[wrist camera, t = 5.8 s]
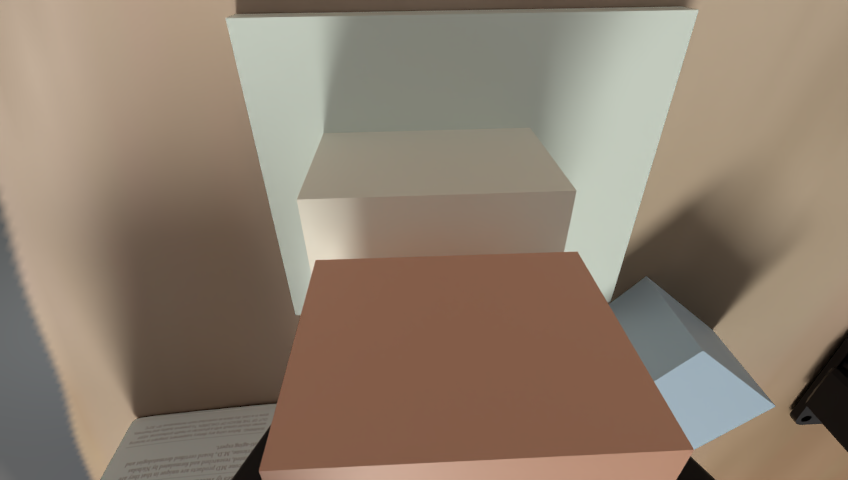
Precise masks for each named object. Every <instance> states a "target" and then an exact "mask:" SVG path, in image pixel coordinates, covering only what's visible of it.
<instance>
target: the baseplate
mask: <svg viewBox="0 0 848 480" xmlns="http://www.w3.org/2000/svg"><path fill="white" fill-rule="evenodd" d="M698 11H699V10H697V9H692V8H687V7H682V6H677V7H619V8H560V9H502V10H443V11H385V12H326V13H268V14H234V15H232V16H229V17H227V18H226V22H227V27H228V31H229V35H230V39H231V43H232V48H233V52H234V56H235V60H236V65H237V69H238V73H239V77H240V82H241V86H242V90H243V94H244V99H245V103H246V107H247V111H248V116H249V120H250V124H251V128H252V133H253V137H254V141H255V145H256V149H257V154H258V158H259V162H260V166H261V171H262V175H263V179H264V183H265V188H266V192H267V196H268V200H269V205H270V209H271V213H272V217H273V222H274V226H275V230H276V234H277V239H278V243H279V247H280V251H281V255H282V260H283V264H284V268H285V272H286V277H287V281H288V285H289V289H290V294H291V298H292V302H293V306H294V311H295V315H301V312H302V308H303V305H304V301H305V297H306V294H307V290H308V286H309V282H310V279H311V271H310V266H309V260H308V255H307V250H306V245H305V240H304V235H303V230H302V224H301V219H300V214H299V209H298V204H297V198H298V195H299V193H300V190H301V188H302V185H303V183H304V180H305V178H306V175H307V173H308V170H309V168H310V165H311V163H312V160H313V158H314V155H315V153H316V150H317V148H318V146H319V143H320V141H321V138H322V136H323V133H346V132H383V131H421V130H458V129H495V128H531V129H532V131H533V132H534V133H535V135H536V136H537V137H538V139H539V140H540V142H541V143H542V144H543V146H544V147H545V148H546V150H547V151H548V152H549V154H550V155H551V156H552V158H553V159H554V161H555V162H556V163H557V165H558V166H559V167H560V169H561V170H562V171H563V173H564V174H565V176H566V177H567V178H568V180H569V181H570V182H571V184H572V185H573V186H574V188H575V189H576V190H577V191H576V196H575V201H574V206H573V211H572V216H571V221H570V225H569V230H568V235H567V240H566V245H565V250H564V252H578V253H579V255H580V257H581V258H582V260H583V262H584V263H585V265H586V267H587V269H588V270H589V272H590V274H591V275H592V277H593V279H594V280H595V282H596V284H597V286H598V287H599V289H600V291H601V292H602V294H603V296H604V297H605V299H606V301H607V302H611V299H612V295H613V292H614V289H615V285H616V282H617V279H618V275H619V272H620V269H621V265H622V262H623V259H624V255H625V252H626V249H627V246H628V242H629V239H630V236H631V232H632V229H633V226H634V222H635V219H636V216H637V212H638V209H639V206H640V203H641V199H642V196H643V193H644V189H645V186H646V183H647V179H648V176H649V173H650V169H651V166H652V163H653V160H654V156H655V153H656V150H657V146H658V143H659V140H660V136H661V133H662V130H663V126H664V123H665V120H666V117H667V113H668V110H669V107H670V103H671V100H672V97H673V93H674V90H675V87H676V83H677V80H678V77H679V74H680V70H681V67H682V64H683V60H684V57H685V54H686V50H687V47H688V44H689V40H690V37H691V34H692V31H693V27H694V24H695V21H696V17H697V14H698Z"/></svg>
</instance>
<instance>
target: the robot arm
mask: <svg viewBox="0 0 848 480" xmlns="http://www.w3.org/2000/svg"><path fill="white" fill-rule="evenodd" d="M790 416H791V418H792V419H793V420H794V421H795V422H796V423H797V424H799V425H805V424H823V425H824V426H825V427H826V428H827V429H828V430H829V432H830V433H831V434H832V435H833V436H834V437H835V438H836V439H837V440H838V442H839V443H840V444H841V445H842V446H843V447H844V448H845V449H846V451H847V452H848V337H847V338H846V339H845V341H844V342H843V343H842V345H841V346H840V347H839V349H838V350H837V351H836V353H835V354H834V355H833V357H832V358H831V359H830V361H829V362H828V363H827V365H826V366H825V367H824V369H823V370H822V371H821V373H820V374H819V375H818V377H817V378H816V379H815V381H814V382H813V383H812V385H811V386H810V387H809V389H808V390H807V391H806V393H805V394H804V395H803V397H802V398H801V399H800V401H799V402H798V404H797V405H796V406H795V408H794V409H793V410H792V412H791V413H790ZM270 427H271V425H270V426H269V428H268V429H267V431H266V432H265V433H264V435H263V436H262V438H261V439H260V440H259V442H258V443H257V445H256V446H255V447H254V449H253V450H252V451H251V453H250V454H249V456H248V457H247V458H246V460H245V461H244V463H243V464H242V465H241V467H240V468H239V470H238V471H237V472H236V474H235V475H234V477H233V478H232V479H231V480H262V478H261V476H260V473H259V468H260V464H261V461H262V457H263V453H264V450H265V446H266V442H267V438H268V435H269V431H270ZM676 480H715V479H714V478H713V477H712V476H711V475H710V474H709V473H708V472H707V471H706V470H704V469H703V468H702V467H701V466H700V465H699V464H698V463H697V462H696V461H695V460H694V459H693V458H692V457H691V456H690V458H689V459H688V461H687V463H686V464H685V466H684V468H683V469H682V471H681V473H680V474H679V476H678V478H677V479H676Z"/></svg>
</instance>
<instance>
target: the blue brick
mask: <svg viewBox="0 0 848 480" xmlns="http://www.w3.org/2000/svg"><path fill="white" fill-rule="evenodd" d="M609 306H610V308H611V309H612V311H613V313H614V314H615V316H616V318H617V320H618V321H619V323H620V325H621V326H622V328H623V330H624V331H625V333H626V335H627V337H628V338H629V340H630V342H631V343H632V345H633V347H634V348H635V350H636V352H637V354H638V355H639V357H640V359H641V360H642V362H643V364H644V365H645V367H646V369H647V371H648V372H649V374H650V376H651V377H652V379H653V381H654V382H655V384H656V386H657V388H658V389H659V391H660V393H661V394H662V396H663V398H664V399H665V401H666V403H667V405H668V406H669V408H670V410H671V411H672V413H673V415H674V416H675V418H676V420H677V422H678V423H679V425H680V427H681V428H682V430H683V432H684V433H685V435H686V437H687V439H688V440H689V442H690V444H691V445H692V447H693V449H694V450H695V449H696V448H698V447H700V446H702V445H704V444H706V443H708V442H710V441H712V440H713V439H715V438H717V437H719V436H721V435H723V434H725V433H727V432H728V431H730V430H732V429H734V428H736V427H738V426H740V425H742V424H743V423H745V422H747V421H749V420H751V419H753V418H755V417H757V416H758V415H760V414H762V413H764V412H766V411H768V410H770V409H772V408H773V407H775V405H774V404H773V403H772V401H771V400H770V399H769V398H768V396H767V395H766V394H765V393H764V392H763V390H762V389H761V388H760V387H759V386H758V384H757V383H756V382H755V381H754V380H753V378H752V377H751V376H750V375H749V373H748V372H747V371H746V370H745V369H744V367H743V366H742V365H741V364H740V363H739V361H738V360H737V359H736V358H735V357H734V355H733V354H732V353H731V352H730V351H729V349H728V348H727V347H726V346H725V344H724V343H723V342H722V341H721V340H720V338H719V337H718V336H717V335H716V334H715V332H714V331H713V330H712V329H711V328H710V327H708V326H707V325H706V324H705V323H703V322H702V321H701V320H700V319H699V318H697V317H696V316H695V315H694V314H692V313H691V312H690V311H689V310H687V309H686V308H685V307H684V306H683V305H681V304H680V303H679V302H678V301H676V300H675V299H674V298H673V297H671V296H670V295H669V294H668V293H667V292H665V291H664V290H663V289H662V288H660V287H659V286H658V285H657V284H656V283H654V282H653V281H652V280H651V279H649V278H648V277H647V276H646V277H644V278H643V279H642V280H640V281H639V282H638V283H636V284H635V285H634V286H632V287H631V288H630V289H628V290H627V291H626V292H624V293H623V294H622V295H620V296H619V297H618V298H616V299H615V300H614V301H613V302H611V303H610V304H609Z"/></svg>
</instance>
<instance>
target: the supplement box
mask: <svg viewBox="0 0 848 480" xmlns="http://www.w3.org/2000/svg"><path fill="white" fill-rule="evenodd" d="M276 405H277V404H266V405H254V406H245V407H236V408H224V409H216V410H204V411H195V412H186V413H176V414H168V415H157V416H149V417H143V418H138V419H136V420H134V421H133V422H132V423H131V425H130V427H129V428H128V430H127V432H126V434H125V436H124V438H123V439H122V441H121V443H120V445H119V447H118V449H117V450H116V452H115V454H114V456H113V458H112V459H111V461H110V463H109V465H108V466H107V468H106V470H105V472H104V474H103V475H102V477H101V479H100V480H231V479H232V478H233V477H234V475H235V474H236V472H237V471H238V470H239V468H240V467H241V465H242V464H243V463H244V461H245V460H246V458H247V457H248V456H249V454H250V453H251V451H252V450H253V449H254V447H255V446H256V445H257V443H258V442H259V440H260V439H261V438H262V436H263V435H264V433H265V432H266V431H267V429H268V428H269V426H270V425H271V424H272V420H273V416H274V412H275V409H276Z"/></svg>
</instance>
